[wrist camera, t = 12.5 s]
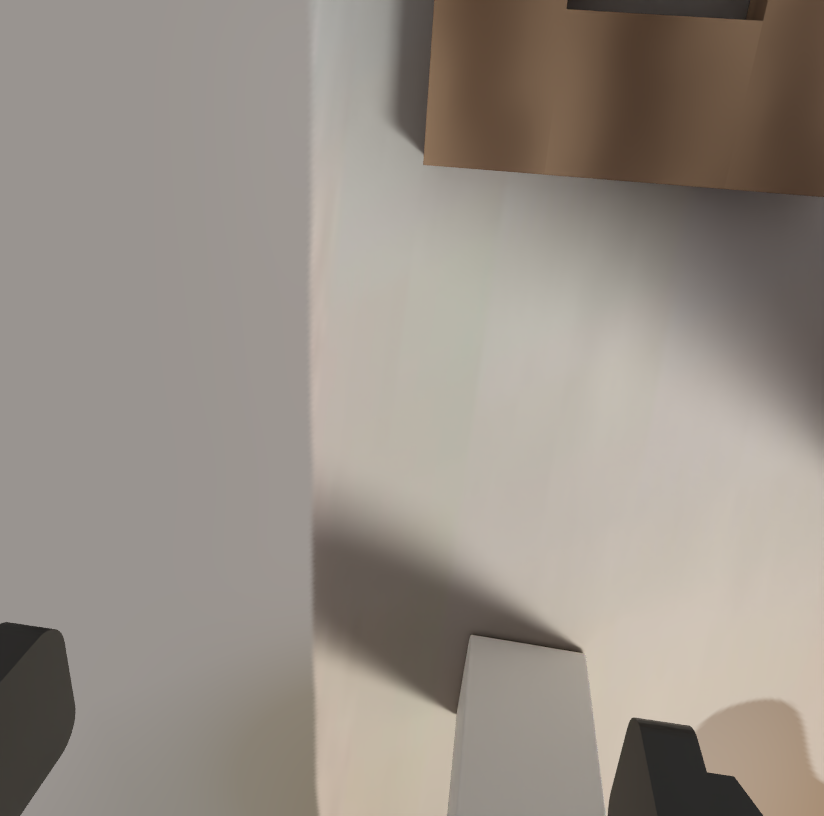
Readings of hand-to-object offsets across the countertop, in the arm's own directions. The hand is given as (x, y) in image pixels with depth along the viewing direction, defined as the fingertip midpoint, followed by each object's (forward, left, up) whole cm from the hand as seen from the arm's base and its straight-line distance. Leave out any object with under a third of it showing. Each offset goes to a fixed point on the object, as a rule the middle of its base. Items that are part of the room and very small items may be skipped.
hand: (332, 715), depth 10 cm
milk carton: (-6, +26, -28) cm, 39 cm away
